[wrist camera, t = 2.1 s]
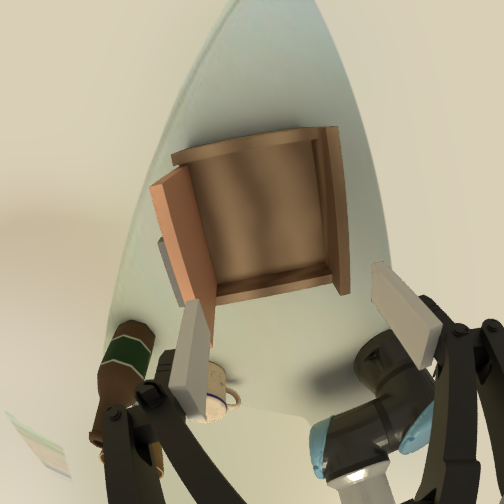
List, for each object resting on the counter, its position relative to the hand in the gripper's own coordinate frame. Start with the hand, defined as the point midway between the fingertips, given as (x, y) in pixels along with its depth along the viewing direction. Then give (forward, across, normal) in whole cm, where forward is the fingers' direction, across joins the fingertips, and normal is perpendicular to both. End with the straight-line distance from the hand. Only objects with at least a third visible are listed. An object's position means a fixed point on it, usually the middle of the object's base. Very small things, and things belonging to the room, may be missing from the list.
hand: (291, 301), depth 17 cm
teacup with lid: (+26, +15, +33) cm, 45 cm away
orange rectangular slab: (+18, +8, 0) cm, 20 cm away
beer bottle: (+26, +26, +20) cm, 42 cm away
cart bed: (+26, 0, 0) cm, 26 cm away
